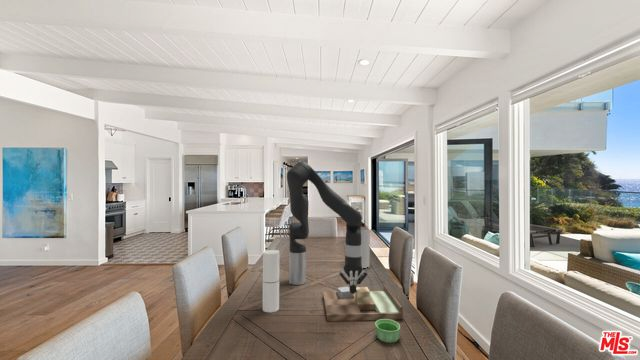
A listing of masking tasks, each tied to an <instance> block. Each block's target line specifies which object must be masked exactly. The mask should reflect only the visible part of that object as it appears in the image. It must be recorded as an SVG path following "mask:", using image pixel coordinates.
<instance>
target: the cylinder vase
mask: <svg viewBox="0 0 640 360" xmlns="http://www.w3.org/2000/svg"><path fill="white" fill-rule="evenodd" d="M370 230H371V229H370V228H368V227H361V247H362V268H366V269H368V268H369V267H370V258H371V257H370V253H371V252H370V251H371V250H370V243H371V242H370V241H371V238H370V233H371V231H370ZM367 267H368V268H367Z"/></svg>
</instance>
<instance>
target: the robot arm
mask: <svg viewBox="0 0 640 360" xmlns="http://www.w3.org/2000/svg"><path fill="white" fill-rule="evenodd" d="M286 180H287V186H288V192H289V201H290V202H289V205H290V208H289V209H290V213H291V215H292V216H293V217H294V218H295V219H296V220H297V222H291V223H289V226H288V227H289V228H288V232H289V233H288V235H289V259H288V260H289V261H288V263H289V265H288V285H294V286H298V285H304V284H306V280H307V246H306V245H304V244H302V243H300V242H299V241H296V240H306V239H308V237H309V234H310V230H309V229H310V228H309V226H310V225H309V199H308V197H307V195H305V194H304V193H303V188H304V185H305V183H307V182H308V181H309V182H311V183H312V184H313V185H314V186H315V188H316V191H317V192H318V194H319V196H320V198H321V200H322V202H323V203H324V204H325V206H327V207H328V208H329V209H331V210H332V211H333V212H334V213H335V214H337V215H338V216H339V217H340V218H341V219H342V220H343V221H344V222H345V225H346V230H345V231H346V232H345V246H344V247H345V248H344V266H343V269H342V270H341V271H338V273H339V276H340V278H341V279H342V280H343V281H344V282H345V284H346V285H349V286H348V287H349V290H350V292H351V294H355V292H356V287H357V285H361V283H362V282H363V281H364V279H365V278H366V277H367V276H368V273H367V271H366V270H365V269H363V268H362V247H361V228H362V221H363V217H362V213H361V212H360V211H359V210H358V209H355V208H354V207H352V206H351V205H350V204H348V202H347V201H346V200H345V199H344V198H343V197H341V196H340V195H339V194H338V193H337V192H336V191H334V190H333V189H332V188H331V187H330V186H329V185H328V184H327V183H326V182H325V181H324V179H323V178H322V177H321V175H319V173H317V172H316V170H315V169H313V168H312V166H311V165H309V163H307V162H305V161H304V160H303V161H298V162H297V163H295V164H294V165H293V166H292V167H291V168H290V169H289V170H288V171H287V173H286ZM345 275H347V277H348V278H347V277H346V276H345Z"/></svg>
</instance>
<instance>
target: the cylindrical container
mask: <svg viewBox="0 0 640 360" xmlns="http://www.w3.org/2000/svg"><path fill="white" fill-rule="evenodd" d="M279 309H280V250H278V249H269V250H264V251H263V253H262V311H263V312H264V313H274V312H277V311H279Z"/></svg>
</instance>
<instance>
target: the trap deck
mask: <svg viewBox="0 0 640 360" xmlns="http://www.w3.org/2000/svg"><path fill="white" fill-rule="evenodd" d="M369 291H370V304H357V302H356V300H355V294H353V299H337V290H336V291H335V290H334V291H332V290H331V291H327V290H326V291H325V290H324V291H322V298H323V304H324V305H323V306H324V308H325V309H324V310H325V316H326V321H327V322H343V321H344V322H345V321H346V322H347V321H349V322H350V321H351V322H352V321H377V320H380V319H390V320H394V321H396V320H397V319H403V314H404V313H403V309H404V308H403V306H402V305H401V303H400V302H399V301H398V300H397V298H396V297H395V296H394V294H393V293H392V292H391V291H390V289H389V288H388V287H387V285H383V290H369ZM361 311H375V312H361ZM403 320H404V319H403Z"/></svg>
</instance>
